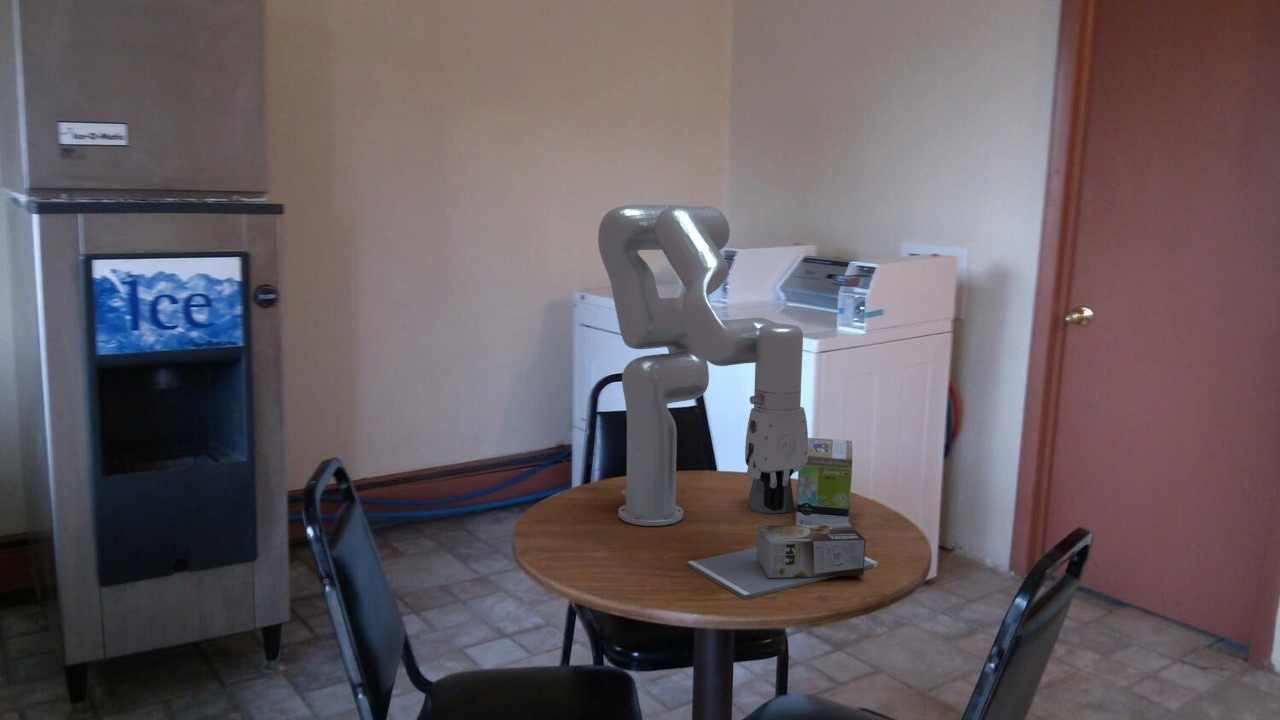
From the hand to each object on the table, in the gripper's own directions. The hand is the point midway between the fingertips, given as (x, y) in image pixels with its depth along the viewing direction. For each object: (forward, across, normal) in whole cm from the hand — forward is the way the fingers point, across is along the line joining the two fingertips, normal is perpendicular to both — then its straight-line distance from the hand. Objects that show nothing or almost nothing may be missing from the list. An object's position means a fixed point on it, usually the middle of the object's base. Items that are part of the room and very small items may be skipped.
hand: (773, 507), depth 164 cm
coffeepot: (+11, +21, +27) cm, 36 cm away
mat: (+11, +2, 0) cm, 11 cm away
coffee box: (+7, -3, -1) cm, 7 cm away
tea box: (+11, +24, +15) cm, 31 cm away
